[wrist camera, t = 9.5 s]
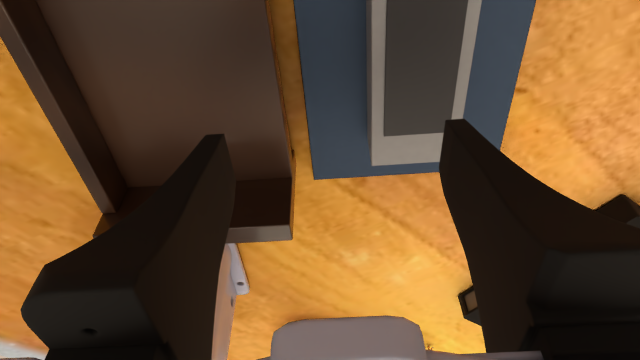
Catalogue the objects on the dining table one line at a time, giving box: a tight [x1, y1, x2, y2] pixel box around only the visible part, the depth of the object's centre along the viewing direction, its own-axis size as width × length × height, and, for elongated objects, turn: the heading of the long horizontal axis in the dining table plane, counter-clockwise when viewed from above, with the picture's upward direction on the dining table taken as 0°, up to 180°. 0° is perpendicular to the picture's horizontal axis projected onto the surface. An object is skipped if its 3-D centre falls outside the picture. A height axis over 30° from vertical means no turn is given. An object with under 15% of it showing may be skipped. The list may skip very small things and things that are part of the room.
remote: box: [366, 0, 482, 166], centre depth 20 cm, size 14×4×3 cm, turn 4°
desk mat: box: [294, 0, 536, 180], centre depth 21 cm, size 20×11×1 cm, turn 4°
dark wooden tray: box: [0, 0, 296, 244], centre depth 19 cm, size 20×10×6 cm, turn 4°
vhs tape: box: [458, 195, 640, 326], centre depth 34 cm, size 8×14×2 cm, turn 144°
